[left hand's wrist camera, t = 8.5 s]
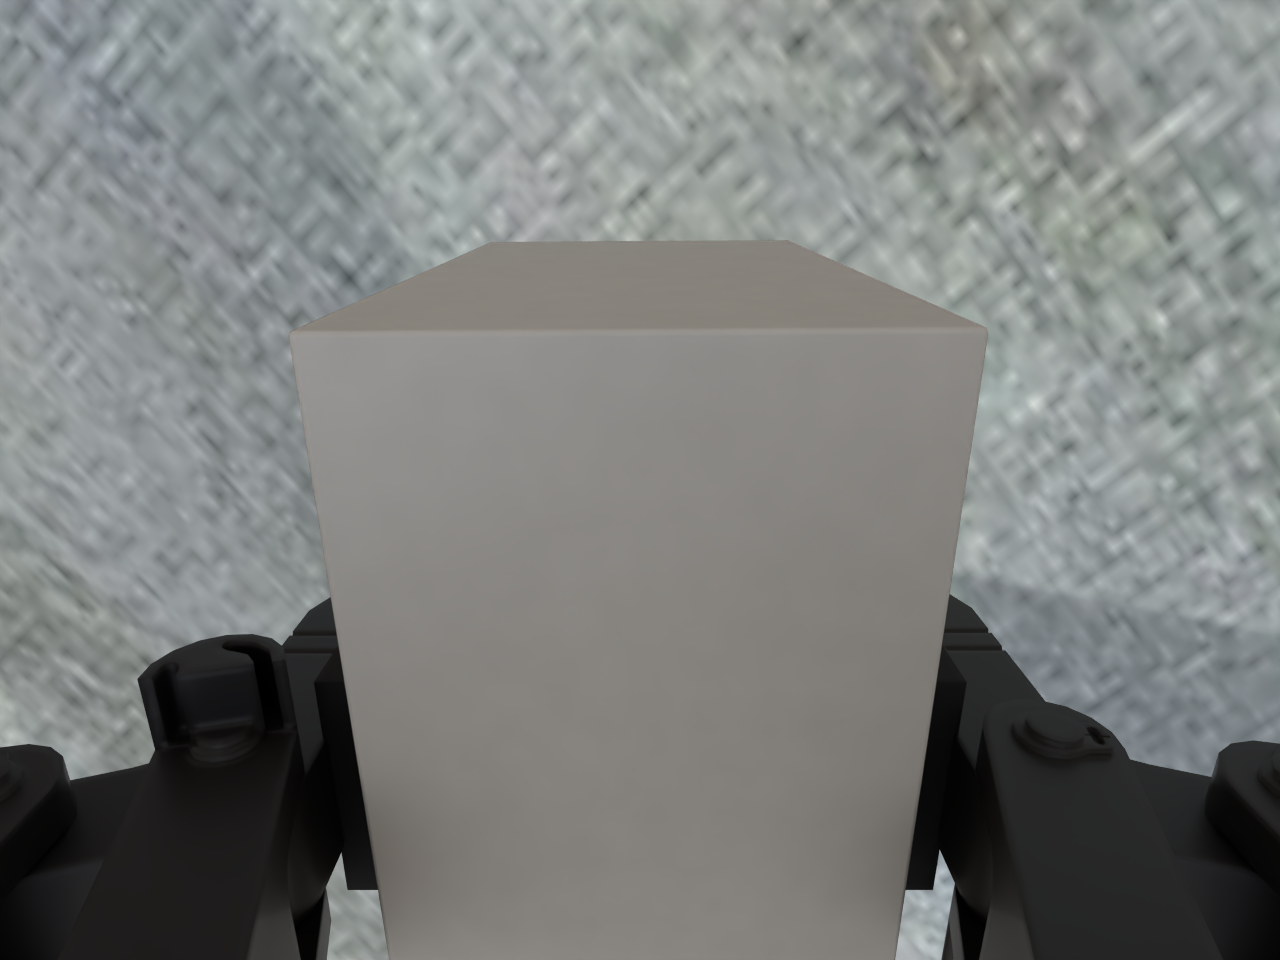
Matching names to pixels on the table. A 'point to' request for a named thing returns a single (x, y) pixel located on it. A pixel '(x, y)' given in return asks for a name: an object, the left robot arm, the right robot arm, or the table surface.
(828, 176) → the table surface
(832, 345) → the beam
